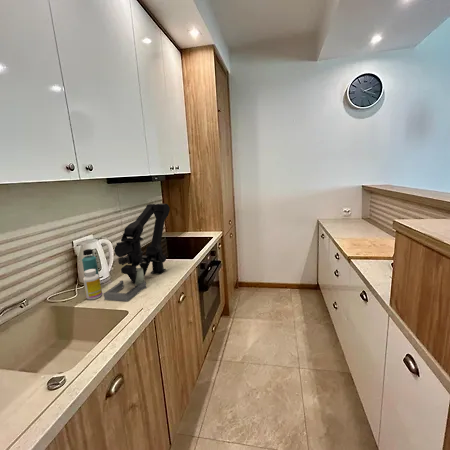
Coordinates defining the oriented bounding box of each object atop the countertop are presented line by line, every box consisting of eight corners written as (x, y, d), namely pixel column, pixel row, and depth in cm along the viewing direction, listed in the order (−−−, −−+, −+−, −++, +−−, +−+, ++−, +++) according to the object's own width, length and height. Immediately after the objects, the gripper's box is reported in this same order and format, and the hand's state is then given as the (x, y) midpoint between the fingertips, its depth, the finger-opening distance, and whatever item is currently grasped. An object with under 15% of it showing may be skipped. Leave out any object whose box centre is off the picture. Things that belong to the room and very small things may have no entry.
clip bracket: (121, 285, 131) (121, 280, 130) (146, 287, 127) (146, 281, 127) (102, 299, 117) (101, 293, 117) (129, 301, 114) (129, 295, 113)
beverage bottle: (85, 292, 126) (78, 252, 122) (88, 286, 132) (81, 248, 128) (99, 289, 127) (93, 250, 123) (102, 284, 134) (96, 247, 130)
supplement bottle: (105, 295, 122) (101, 269, 119) (92, 301, 116) (87, 274, 113) (96, 292, 125) (92, 267, 122) (83, 298, 119) (78, 272, 117)
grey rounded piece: (137, 280, 137) (136, 267, 135) (146, 280, 135) (144, 268, 134) (131, 284, 132) (130, 271, 130) (141, 285, 130) (139, 272, 129)
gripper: (131, 245, 141) (135, 272, 144) (109, 256, 123) (113, 286, 126) (150, 245, 138) (153, 272, 141) (129, 257, 120) (134, 288, 124)
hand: (139, 279), depth 133 cm, fingers open, 9 cm apart
